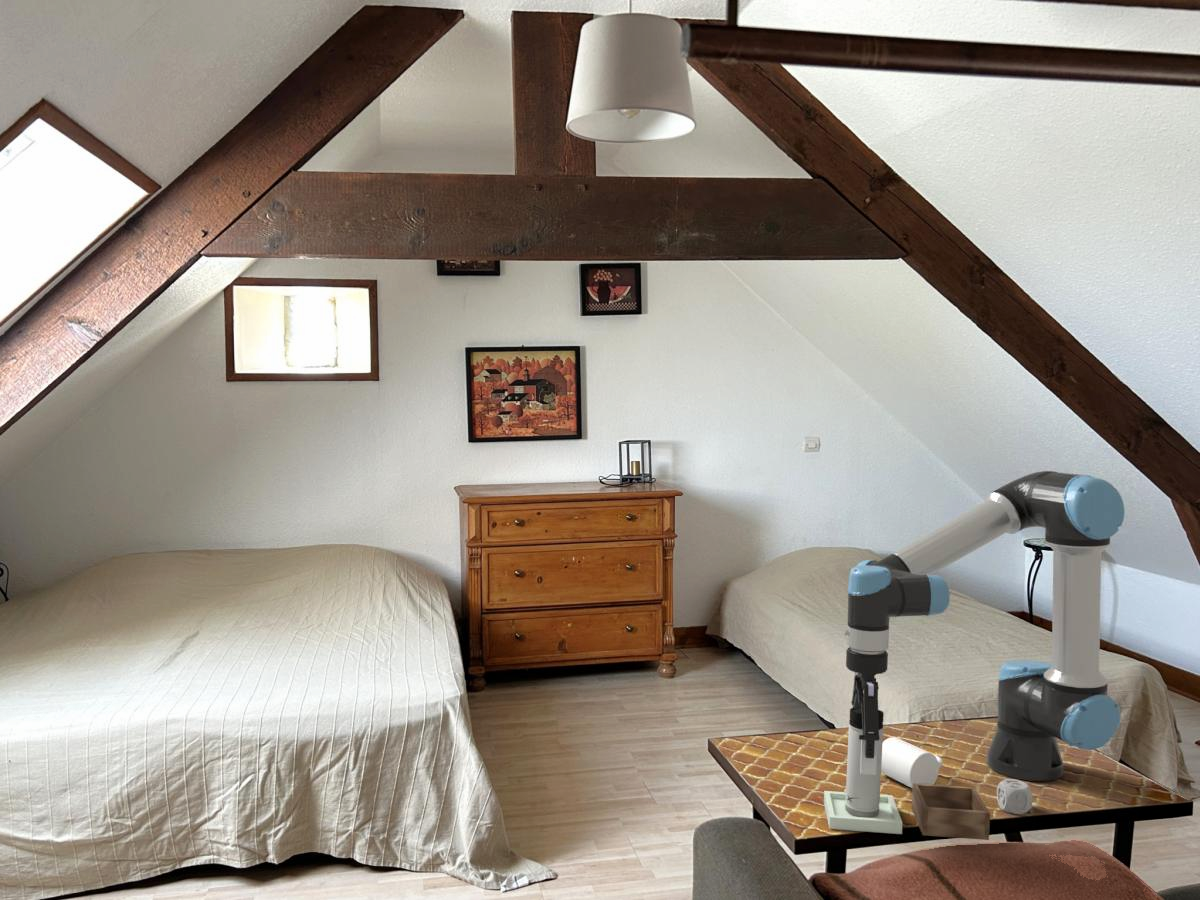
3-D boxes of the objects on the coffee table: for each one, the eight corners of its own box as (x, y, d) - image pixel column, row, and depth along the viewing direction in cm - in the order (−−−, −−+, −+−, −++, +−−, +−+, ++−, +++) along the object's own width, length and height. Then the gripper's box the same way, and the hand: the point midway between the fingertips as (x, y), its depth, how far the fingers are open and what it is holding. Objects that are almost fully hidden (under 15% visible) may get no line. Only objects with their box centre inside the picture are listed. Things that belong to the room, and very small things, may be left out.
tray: (891, 806, 195) (892, 795, 194) (901, 834, 183) (902, 822, 183) (823, 801, 196) (824, 790, 196) (829, 828, 184) (829, 817, 184)
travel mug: (846, 817, 187) (851, 712, 185) (843, 802, 193) (848, 701, 192) (881, 820, 185) (886, 715, 184) (877, 805, 192) (882, 703, 191)
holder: (973, 812, 192) (974, 787, 192) (988, 839, 181) (990, 813, 180) (911, 808, 194) (912, 783, 193) (922, 835, 182) (923, 808, 182)
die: (1021, 803, 197) (1022, 779, 196) (1031, 814, 192) (1033, 789, 192) (995, 803, 197) (997, 778, 197) (1005, 814, 192) (1007, 789, 192)
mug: (909, 795, 200) (911, 756, 200) (874, 777, 209) (876, 740, 209) (953, 784, 206) (954, 746, 205) (917, 767, 215) (918, 731, 214)
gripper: (839, 631, 200) (836, 735, 201) (854, 666, 175) (850, 784, 177) (878, 633, 199) (874, 737, 200) (898, 669, 174) (894, 787, 176)
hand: (863, 759), depth 189 cm, fingers open, 13 cm apart
